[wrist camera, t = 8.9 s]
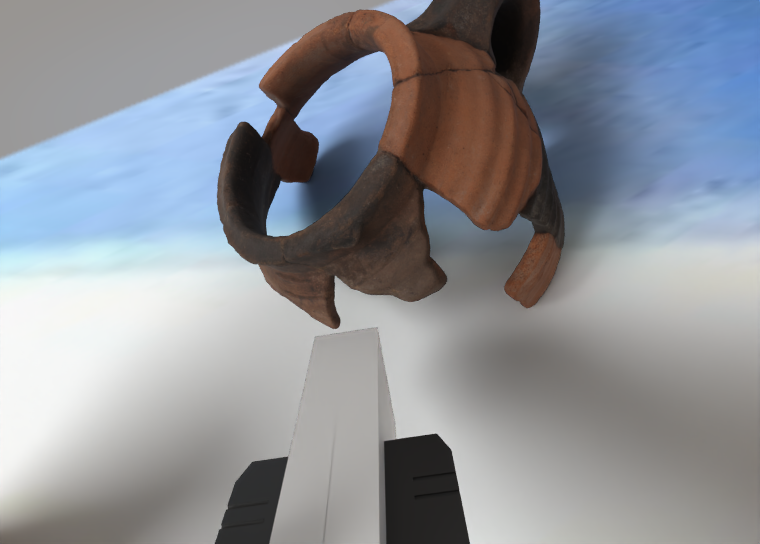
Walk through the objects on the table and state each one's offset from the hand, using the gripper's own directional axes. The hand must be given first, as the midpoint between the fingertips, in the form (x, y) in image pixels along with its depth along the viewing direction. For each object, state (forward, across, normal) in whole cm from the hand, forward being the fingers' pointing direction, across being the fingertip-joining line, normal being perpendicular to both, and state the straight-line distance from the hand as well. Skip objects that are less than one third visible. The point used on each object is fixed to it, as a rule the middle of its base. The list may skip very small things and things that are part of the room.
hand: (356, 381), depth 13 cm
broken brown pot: (+8, +3, +2) cm, 8 cm away
